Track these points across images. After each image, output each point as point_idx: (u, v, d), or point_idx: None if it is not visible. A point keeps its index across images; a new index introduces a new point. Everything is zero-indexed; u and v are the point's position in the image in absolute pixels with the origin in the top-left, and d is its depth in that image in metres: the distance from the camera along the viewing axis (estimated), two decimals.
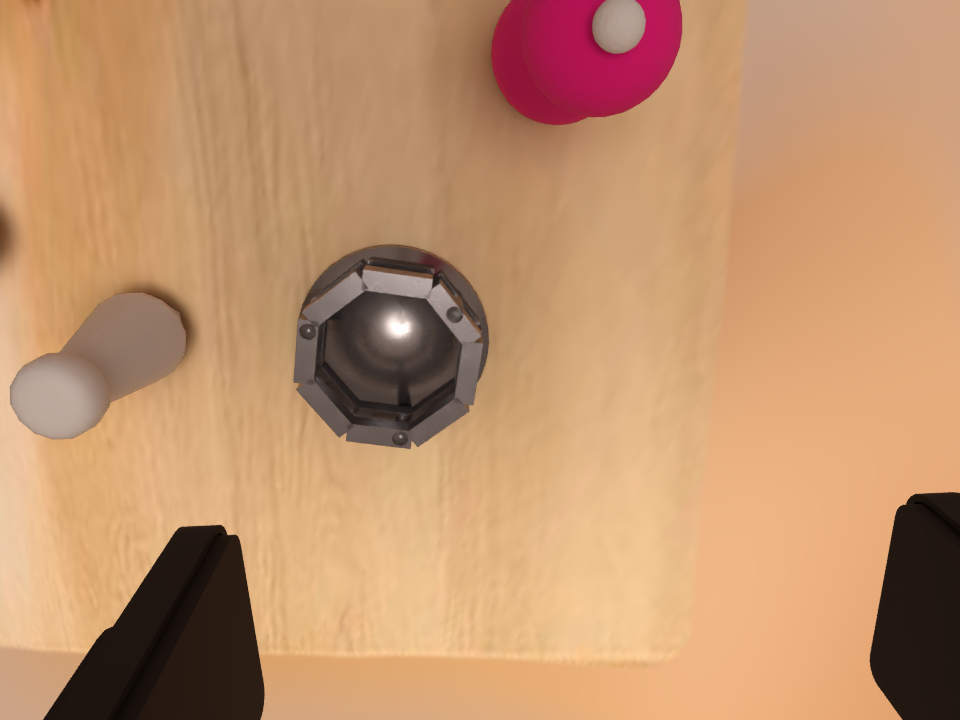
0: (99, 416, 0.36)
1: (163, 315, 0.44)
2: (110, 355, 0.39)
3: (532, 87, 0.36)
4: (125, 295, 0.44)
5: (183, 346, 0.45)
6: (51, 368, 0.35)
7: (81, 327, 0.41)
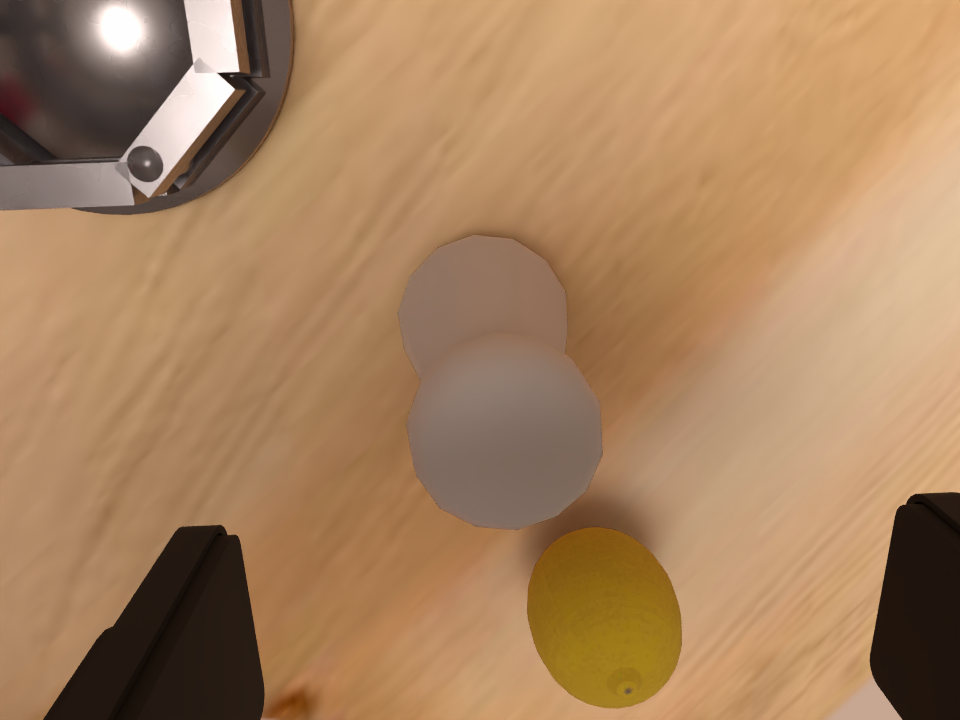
0: (461, 355, 0.15)
1: (403, 332, 0.24)
2: None
3: None
4: None
5: (423, 263, 0.24)
6: (445, 505, 0.16)
7: None
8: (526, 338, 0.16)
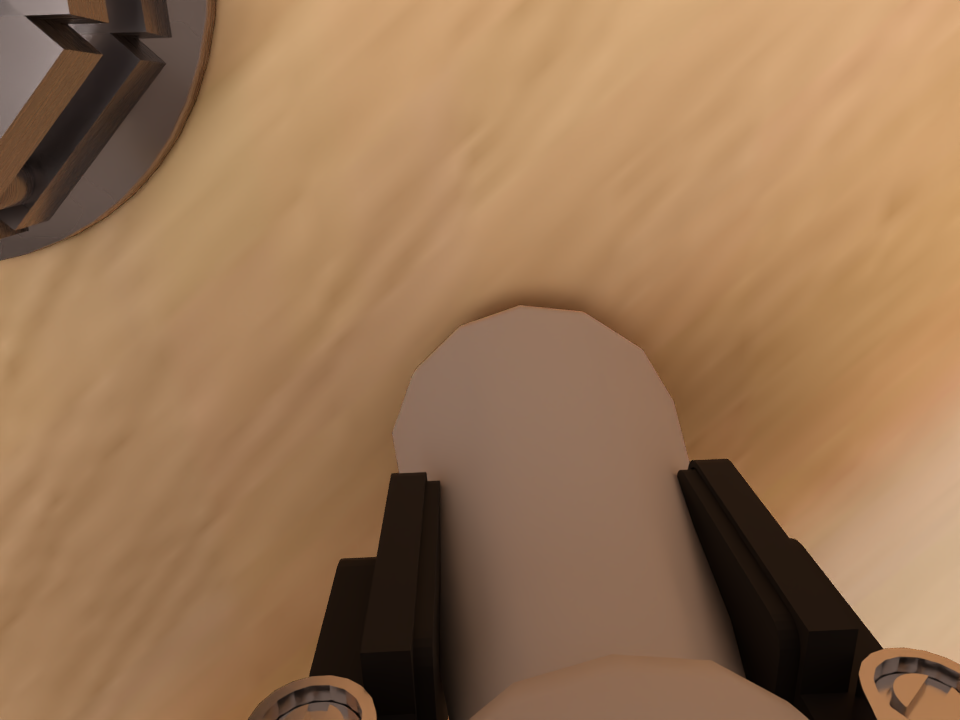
0: None
1: (399, 472, 0.14)
2: None
3: None
4: None
5: (435, 354, 0.14)
6: None
7: None
8: (713, 701, 0.06)
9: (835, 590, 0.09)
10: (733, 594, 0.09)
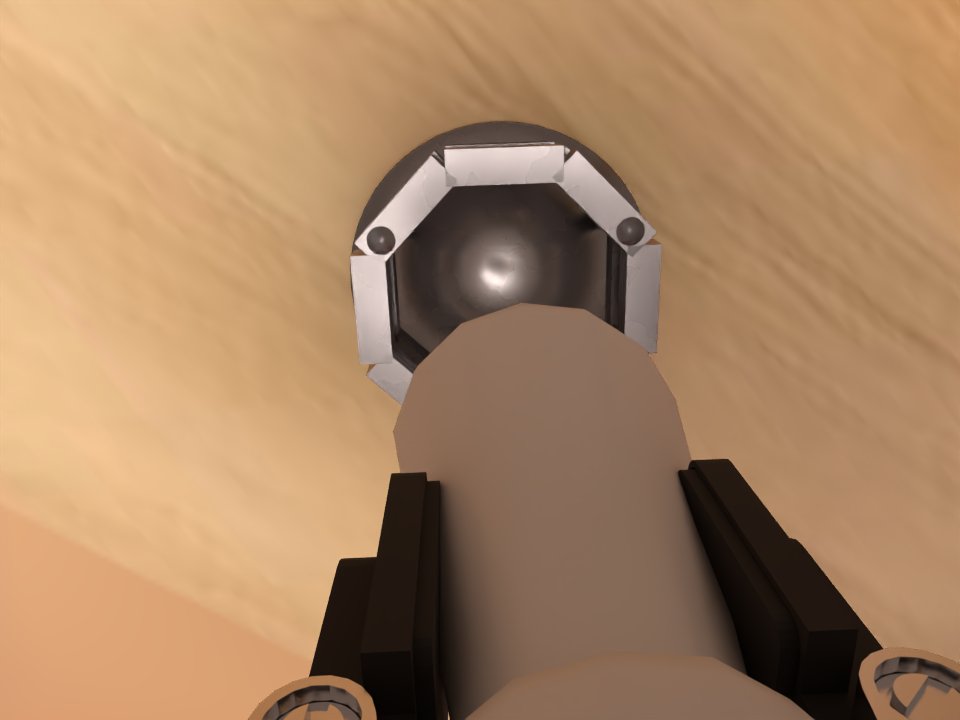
0: None
1: None
2: None
3: None
4: None
5: (436, 352, 0.14)
6: None
7: None
8: (714, 697, 0.06)
9: (835, 590, 0.09)
10: (733, 594, 0.09)
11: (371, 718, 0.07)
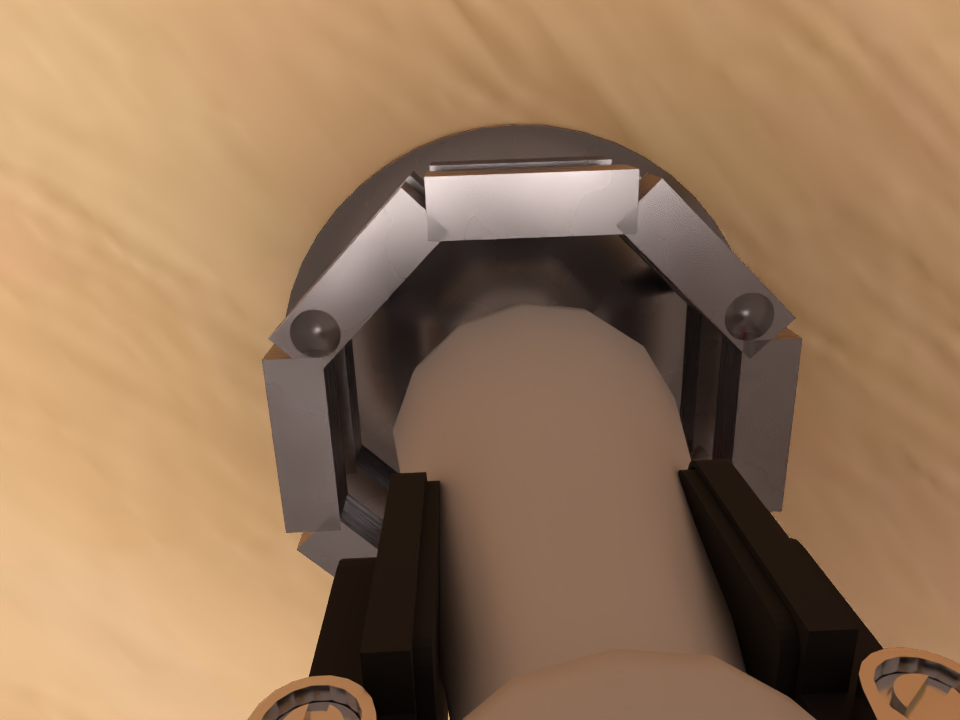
0: None
1: (400, 469, 0.14)
2: None
3: None
4: None
5: (436, 351, 0.14)
6: None
7: None
8: (714, 695, 0.06)
9: (835, 590, 0.09)
10: (733, 594, 0.09)
11: (371, 718, 0.07)
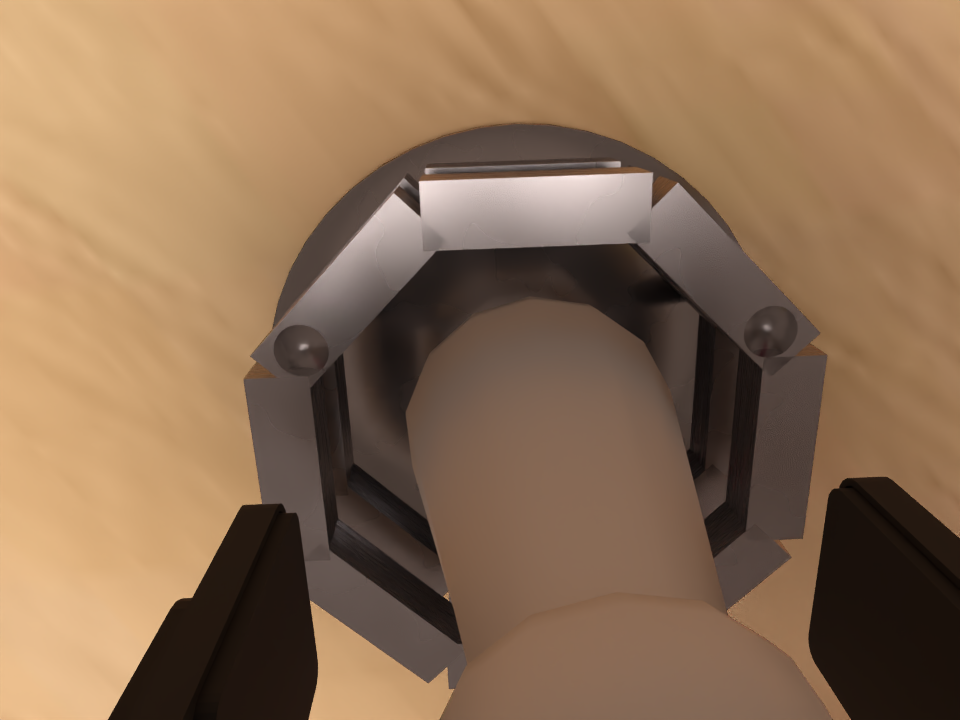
0: (559, 691, 0.06)
1: (412, 449, 0.15)
2: None
3: None
4: None
5: (449, 339, 0.15)
6: None
7: None
8: (704, 629, 0.07)
9: None
10: (931, 627, 0.08)
11: None
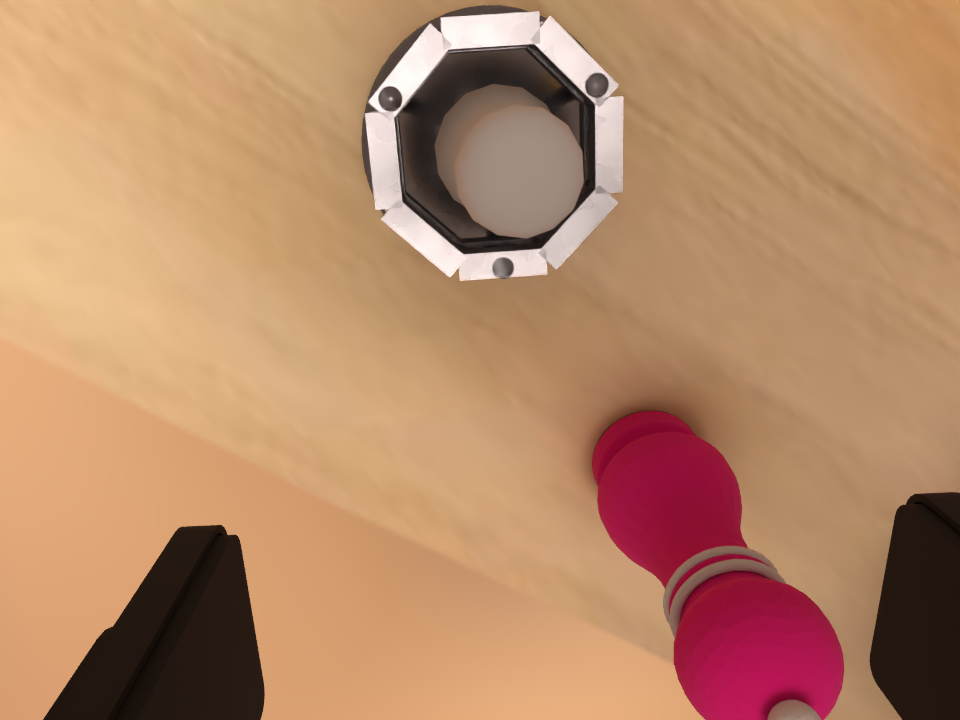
0: (491, 113, 0.23)
1: (438, 157, 0.32)
2: None
3: (682, 493, 0.34)
4: None
5: (454, 105, 0.32)
6: (480, 215, 0.24)
7: None
8: None
9: None
10: None
11: None
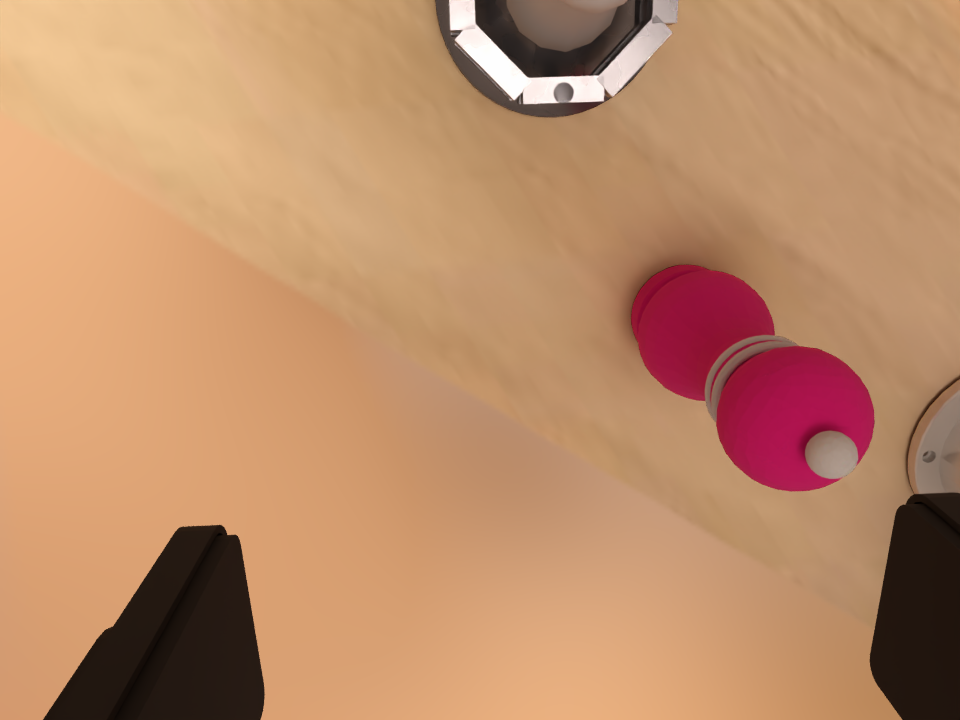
0: None
1: None
2: None
3: (721, 310, 0.37)
4: (531, 38, 0.36)
5: None
6: None
7: (573, 30, 0.33)
8: None
9: None
10: None
11: None
